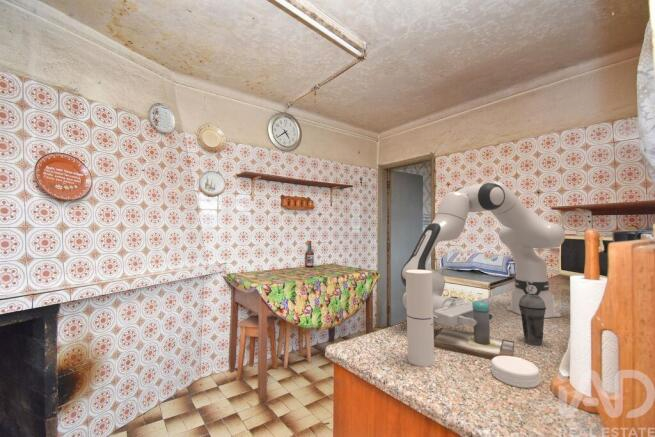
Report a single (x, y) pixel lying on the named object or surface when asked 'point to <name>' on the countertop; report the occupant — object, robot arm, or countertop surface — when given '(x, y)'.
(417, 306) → the cylindrical container
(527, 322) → the beverage cup
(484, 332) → the bottle
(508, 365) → the coaster
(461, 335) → the clipboard
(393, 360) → the countertop surface
